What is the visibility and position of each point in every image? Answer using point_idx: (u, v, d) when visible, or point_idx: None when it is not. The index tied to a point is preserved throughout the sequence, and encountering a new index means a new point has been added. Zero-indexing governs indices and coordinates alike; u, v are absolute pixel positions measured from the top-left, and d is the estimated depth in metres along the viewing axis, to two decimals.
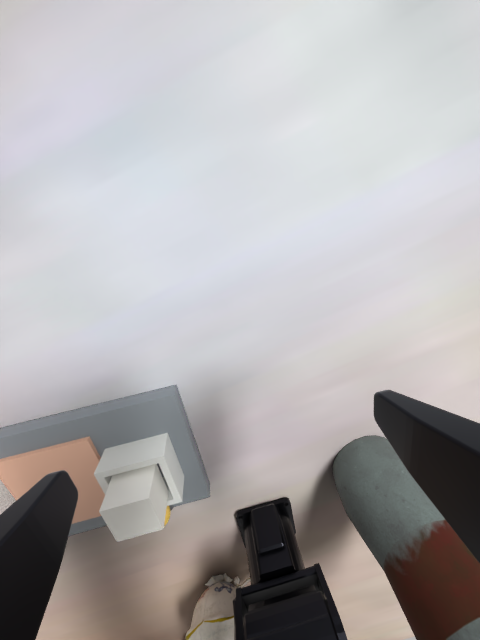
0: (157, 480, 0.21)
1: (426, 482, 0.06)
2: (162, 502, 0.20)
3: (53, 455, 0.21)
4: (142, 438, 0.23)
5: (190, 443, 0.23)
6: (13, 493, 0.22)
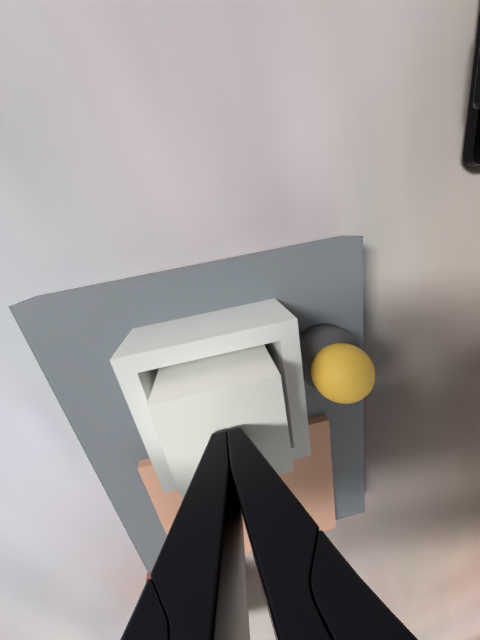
0: None
1: (247, 532, 0.06)
2: (237, 359, 0.08)
3: (171, 510, 0.12)
4: None
5: (170, 277, 0.09)
6: None
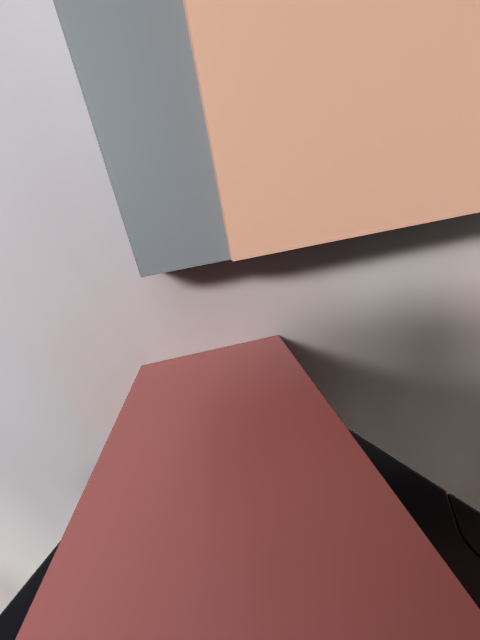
0: None
1: None
2: None
3: None
4: None
5: None
6: (393, 221, 0.05)
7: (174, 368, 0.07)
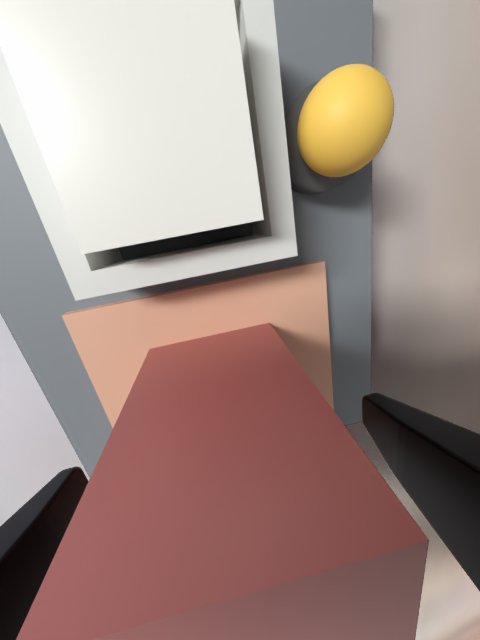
0: None
1: (411, 486, 0.06)
2: None
3: (116, 390, 0.09)
4: None
5: None
6: None
7: (178, 350, 0.08)
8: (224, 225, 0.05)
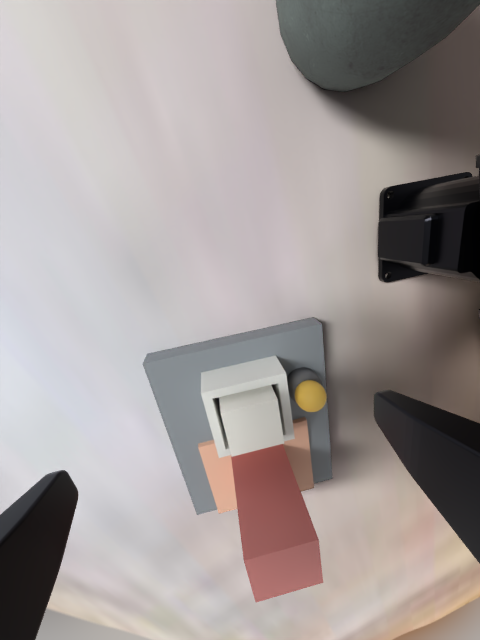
0: None
1: (426, 482, 0.06)
2: (257, 390, 0.17)
3: (215, 473, 0.21)
4: None
5: (222, 347, 0.18)
6: None
7: (245, 460, 0.20)
8: (272, 445, 0.17)
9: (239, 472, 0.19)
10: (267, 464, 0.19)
